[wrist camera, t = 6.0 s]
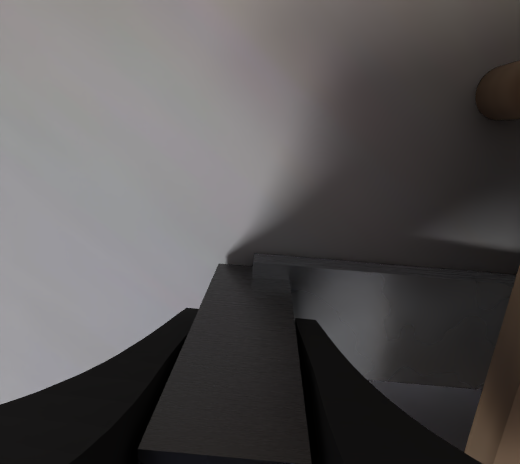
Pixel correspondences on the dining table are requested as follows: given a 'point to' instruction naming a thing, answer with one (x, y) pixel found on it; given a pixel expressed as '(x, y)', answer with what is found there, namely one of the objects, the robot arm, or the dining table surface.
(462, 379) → the grey l-shaped block
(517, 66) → the wooden footstool
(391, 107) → the dining table surface
